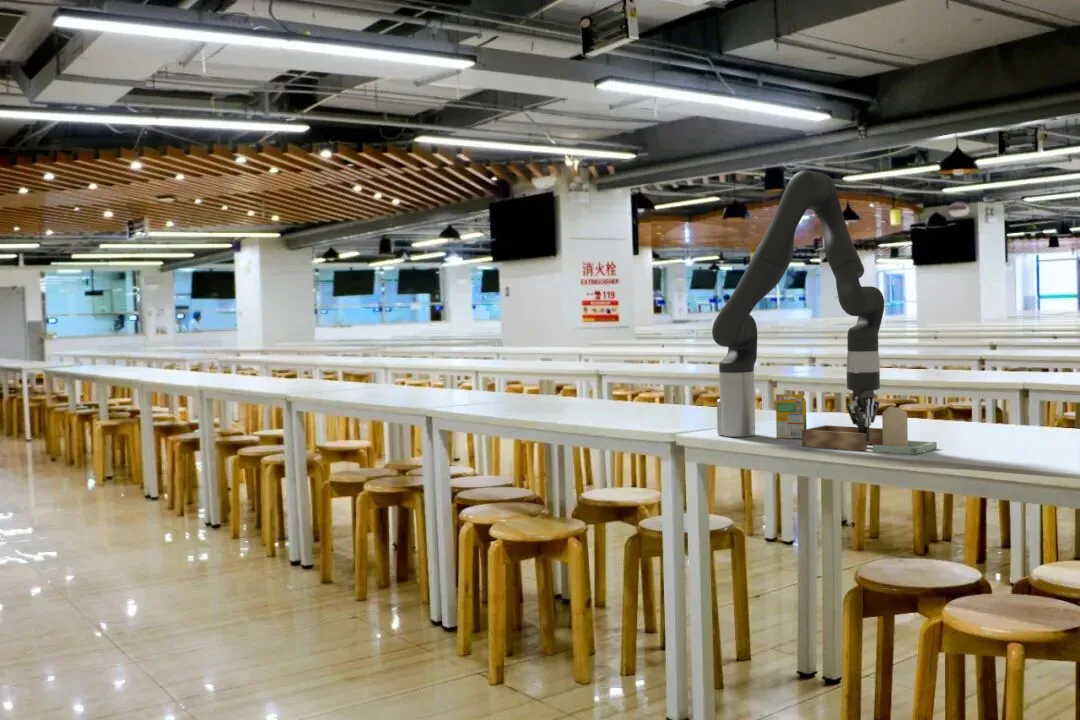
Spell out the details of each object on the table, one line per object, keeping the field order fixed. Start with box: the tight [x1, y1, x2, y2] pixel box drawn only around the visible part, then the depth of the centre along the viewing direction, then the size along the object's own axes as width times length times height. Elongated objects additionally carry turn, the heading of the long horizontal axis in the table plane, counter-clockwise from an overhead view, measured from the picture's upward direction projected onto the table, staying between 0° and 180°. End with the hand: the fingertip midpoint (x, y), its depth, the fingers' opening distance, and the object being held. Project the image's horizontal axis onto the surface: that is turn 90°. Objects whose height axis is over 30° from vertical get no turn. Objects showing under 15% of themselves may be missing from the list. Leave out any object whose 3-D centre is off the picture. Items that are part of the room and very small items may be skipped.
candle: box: [881, 406, 909, 447], centre depth 226 cm, size 6×6×10 cm
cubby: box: [801, 424, 883, 452], centre depth 235 cm, size 16×12×4 cm
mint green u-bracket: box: [872, 439, 938, 455], centre depth 224 cm, size 10×12×2 cm
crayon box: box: [775, 393, 808, 440], centre depth 252 cm, size 7×3×12 cm, turn 62°
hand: (863, 441), depth 231 cm, fingers closed
